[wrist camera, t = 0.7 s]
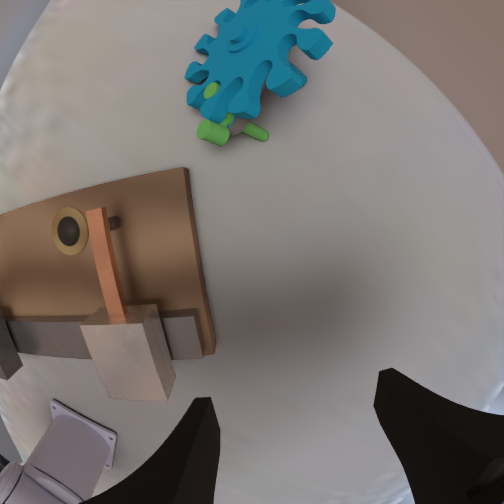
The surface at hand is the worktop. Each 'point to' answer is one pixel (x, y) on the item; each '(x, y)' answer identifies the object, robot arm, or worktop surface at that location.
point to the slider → (124, 329)
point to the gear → (253, 62)
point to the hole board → (124, 245)
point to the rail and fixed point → (74, 345)
